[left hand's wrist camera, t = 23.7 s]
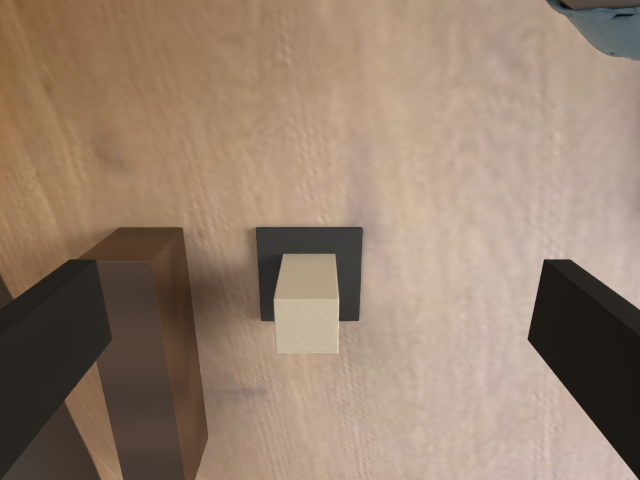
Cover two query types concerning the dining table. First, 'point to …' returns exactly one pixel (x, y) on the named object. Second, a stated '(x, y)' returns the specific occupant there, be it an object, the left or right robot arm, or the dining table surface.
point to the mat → (311, 242)
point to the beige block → (307, 305)
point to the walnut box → (151, 354)
